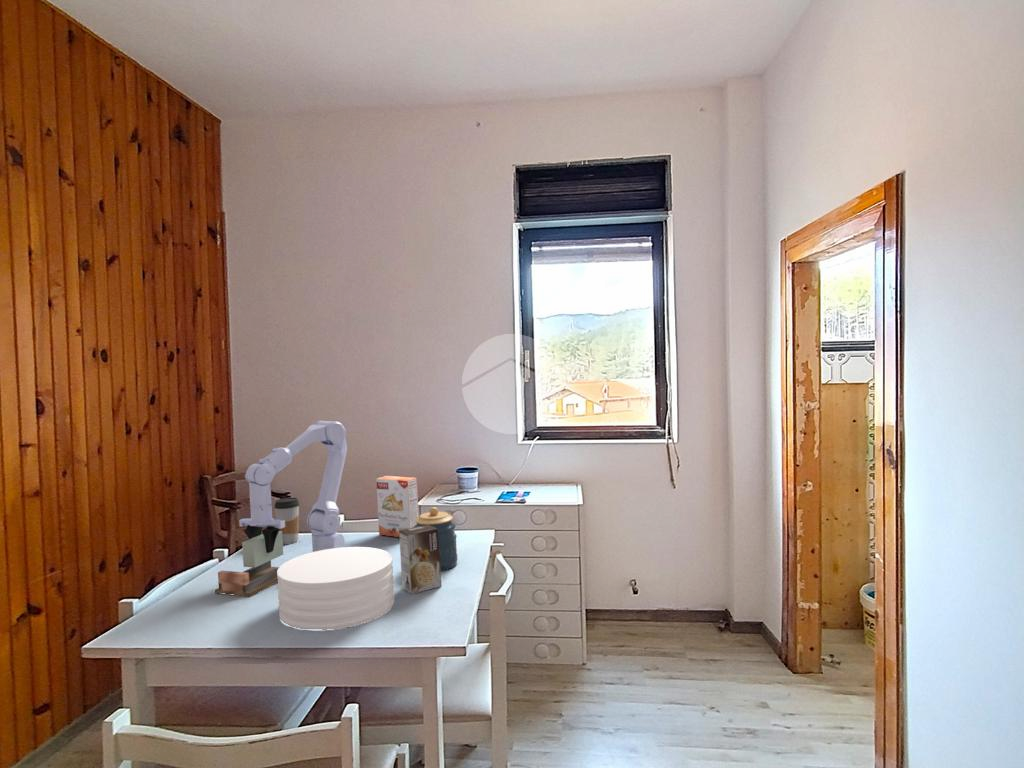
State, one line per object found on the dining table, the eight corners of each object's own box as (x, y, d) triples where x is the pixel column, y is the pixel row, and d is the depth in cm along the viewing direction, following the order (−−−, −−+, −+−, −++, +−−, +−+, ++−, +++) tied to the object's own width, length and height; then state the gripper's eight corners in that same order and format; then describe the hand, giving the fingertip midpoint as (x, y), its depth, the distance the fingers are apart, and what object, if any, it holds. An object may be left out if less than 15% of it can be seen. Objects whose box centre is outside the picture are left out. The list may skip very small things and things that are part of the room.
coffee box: (431, 580, 174) (429, 523, 174) (442, 586, 169) (439, 528, 168) (401, 588, 169) (398, 529, 169) (411, 595, 164) (408, 534, 163)
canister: (407, 571, 183) (404, 512, 182) (424, 557, 195) (421, 501, 195) (449, 573, 180) (446, 512, 179) (463, 559, 192) (461, 502, 192)
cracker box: (378, 536, 222) (375, 478, 221) (389, 531, 227) (386, 475, 227) (409, 540, 216) (407, 480, 215) (420, 535, 221) (417, 476, 220)
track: (297, 572, 186) (296, 552, 186) (250, 596, 167) (249, 574, 167) (264, 569, 190) (263, 550, 190) (214, 593, 171) (213, 571, 171)
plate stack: (279, 598, 166) (277, 556, 165) (384, 581, 176) (382, 541, 175) (279, 641, 140) (276, 591, 139) (403, 618, 149) (401, 571, 149)
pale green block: (283, 554, 186) (281, 531, 186) (255, 567, 175) (253, 542, 175) (272, 553, 188) (270, 530, 187) (243, 566, 176) (242, 542, 176)
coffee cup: (296, 545, 215) (293, 502, 215) (272, 545, 215) (270, 502, 215) (304, 538, 223) (302, 496, 223) (281, 538, 224) (279, 497, 223)
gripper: (230, 507, 179) (233, 554, 180) (272, 509, 175) (275, 557, 175) (248, 502, 186) (250, 546, 186) (288, 503, 181) (291, 549, 182)
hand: (263, 551), depth 181 cm, fingers closed on pale green block, 4 cm apart
